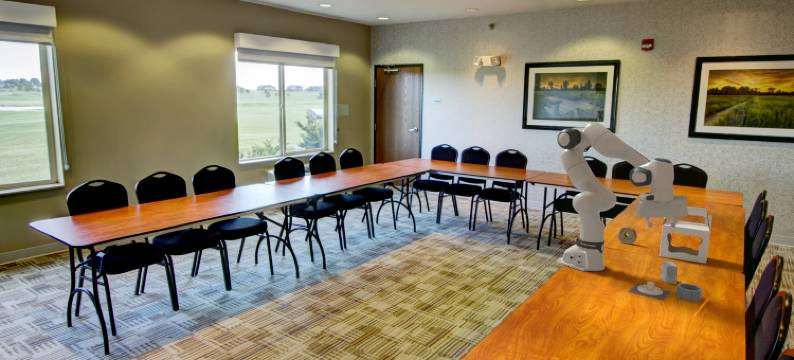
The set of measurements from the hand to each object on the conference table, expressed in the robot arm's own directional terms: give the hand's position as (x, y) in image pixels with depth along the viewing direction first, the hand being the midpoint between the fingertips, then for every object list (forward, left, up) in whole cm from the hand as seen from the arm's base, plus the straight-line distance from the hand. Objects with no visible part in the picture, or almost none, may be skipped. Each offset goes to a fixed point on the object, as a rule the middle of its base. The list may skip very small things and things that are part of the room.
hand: (661, 227), depth 223 cm
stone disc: (-34, +67, -29) cm, 80 cm away
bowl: (+14, -2, -28) cm, 32 cm away
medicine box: (+2, +14, -29) cm, 32 cm away
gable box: (-3, +62, -29) cm, 68 cm away
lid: (0, -7, -28) cm, 29 cm away
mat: (0, -7, -28) cm, 29 cm away
